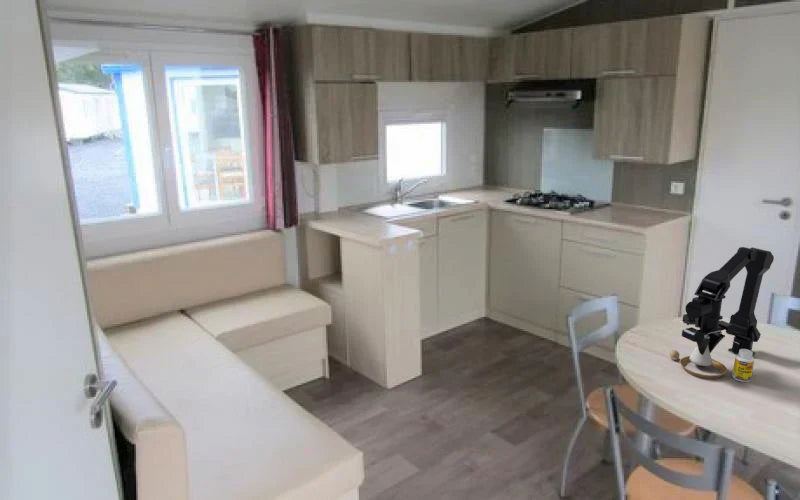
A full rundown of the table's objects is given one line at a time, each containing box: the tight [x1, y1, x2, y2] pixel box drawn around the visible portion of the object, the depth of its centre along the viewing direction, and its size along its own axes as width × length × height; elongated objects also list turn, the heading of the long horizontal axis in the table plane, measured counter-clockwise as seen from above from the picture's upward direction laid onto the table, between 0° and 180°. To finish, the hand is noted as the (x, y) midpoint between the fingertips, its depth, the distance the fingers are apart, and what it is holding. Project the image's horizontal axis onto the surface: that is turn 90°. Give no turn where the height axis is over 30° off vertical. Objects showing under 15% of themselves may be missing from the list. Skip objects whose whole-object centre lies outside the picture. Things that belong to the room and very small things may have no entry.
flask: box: [689, 335, 713, 367], centre depth 205 cm, size 7×7×10 cm
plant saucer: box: [679, 355, 728, 379], centre depth 204 cm, size 15×15×3 cm
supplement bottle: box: [731, 349, 755, 383], centre depth 196 cm, size 6×6×10 cm
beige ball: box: [668, 349, 681, 361], centre depth 212 cm, size 4×4×4 cm
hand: (705, 353), depth 204 cm, fingers closed on flask, 3 cm apart
